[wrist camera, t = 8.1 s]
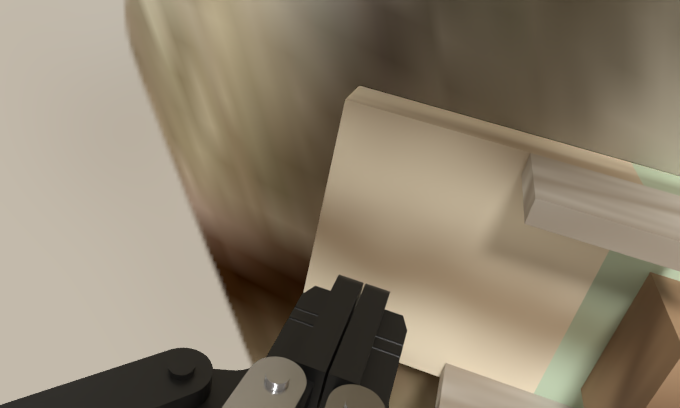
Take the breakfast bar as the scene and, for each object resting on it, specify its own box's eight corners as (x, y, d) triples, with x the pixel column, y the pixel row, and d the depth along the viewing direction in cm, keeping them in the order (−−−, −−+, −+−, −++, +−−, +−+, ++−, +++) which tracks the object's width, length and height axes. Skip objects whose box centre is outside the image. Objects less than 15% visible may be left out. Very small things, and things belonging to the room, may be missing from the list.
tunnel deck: (359, 85, 20) (312, 131, 15) (981, 261, 17) (1164, 386, 12) (310, 298, 25) (264, 385, 20) (791, 465, 22) (871, 612, 17)
